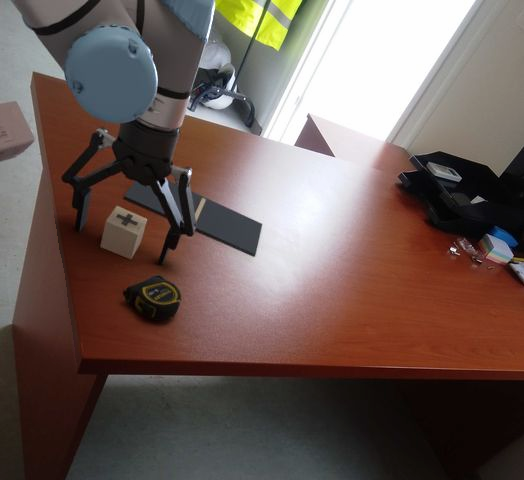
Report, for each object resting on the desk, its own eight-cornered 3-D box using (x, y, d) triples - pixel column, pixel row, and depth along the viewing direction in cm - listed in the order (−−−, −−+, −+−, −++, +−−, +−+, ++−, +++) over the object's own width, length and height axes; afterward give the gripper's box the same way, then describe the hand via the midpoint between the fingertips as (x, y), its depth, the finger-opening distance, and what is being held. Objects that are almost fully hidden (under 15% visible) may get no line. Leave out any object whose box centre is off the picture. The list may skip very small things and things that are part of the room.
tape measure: (154, 286, 71) (160, 268, 68) (185, 314, 70) (192, 297, 67) (119, 301, 66) (125, 282, 63) (152, 332, 65) (159, 313, 62)
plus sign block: (100, 247, 71) (105, 220, 68) (111, 231, 75) (117, 205, 72) (130, 259, 73) (138, 234, 69) (140, 243, 76) (147, 218, 73)
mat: (123, 198, 82) (124, 195, 82) (143, 171, 91) (143, 168, 90) (254, 256, 88) (255, 253, 87) (261, 226, 96) (262, 223, 96)
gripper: (44, 78, 54) (32, 223, 68) (236, 170, 59) (189, 287, 74) (70, 63, 60) (54, 200, 74) (244, 148, 65) (198, 262, 79)
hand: (121, 244), depth 74 cm, fingers open, 13 cm apart
